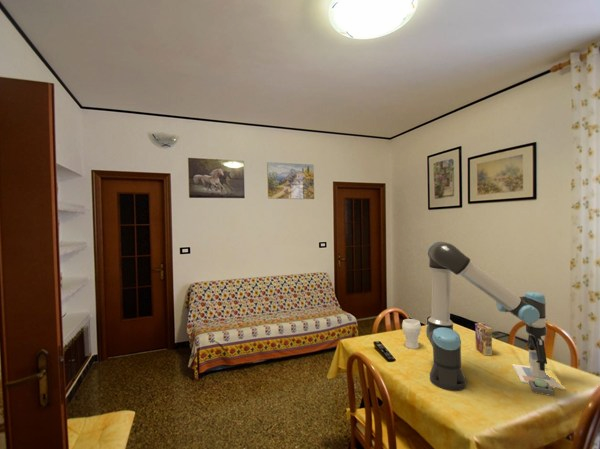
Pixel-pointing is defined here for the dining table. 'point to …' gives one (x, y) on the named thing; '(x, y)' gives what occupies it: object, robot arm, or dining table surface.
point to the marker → (533, 364)
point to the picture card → (526, 376)
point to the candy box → (483, 339)
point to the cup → (411, 332)
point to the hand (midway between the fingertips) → (536, 369)
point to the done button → (540, 383)
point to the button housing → (541, 390)
